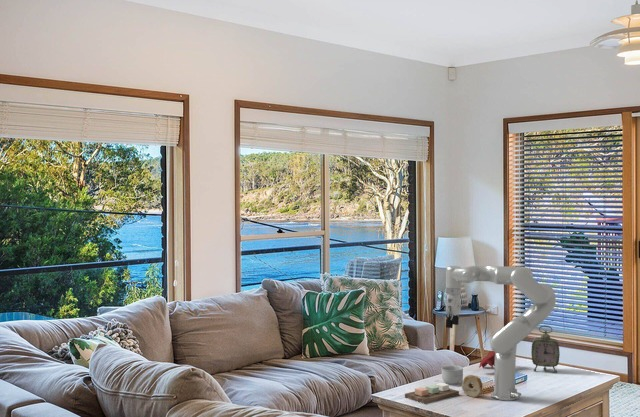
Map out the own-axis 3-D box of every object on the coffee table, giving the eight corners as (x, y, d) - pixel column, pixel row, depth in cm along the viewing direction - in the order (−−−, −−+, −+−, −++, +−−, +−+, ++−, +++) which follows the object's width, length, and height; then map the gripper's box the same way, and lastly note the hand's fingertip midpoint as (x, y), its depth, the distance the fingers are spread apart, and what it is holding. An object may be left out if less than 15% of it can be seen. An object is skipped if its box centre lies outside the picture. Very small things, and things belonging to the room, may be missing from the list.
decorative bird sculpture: (475, 381, 375) (491, 364, 368) (464, 367, 380) (480, 350, 373) (504, 372, 394) (520, 356, 387) (494, 359, 399) (510, 343, 392)
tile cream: (448, 389, 335) (448, 384, 335) (442, 391, 332) (442, 386, 332) (442, 387, 338) (442, 382, 338) (435, 389, 336) (435, 384, 335)
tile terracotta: (428, 394, 326) (428, 389, 326) (421, 396, 324) (421, 390, 324) (421, 392, 330) (421, 387, 330) (414, 394, 327) (414, 388, 327)
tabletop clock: (531, 371, 379) (531, 326, 379) (531, 368, 388) (531, 323, 387) (559, 374, 375) (560, 327, 374) (558, 370, 384) (559, 324, 383)
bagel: (484, 397, 329) (484, 376, 329) (479, 399, 327) (479, 377, 327) (465, 393, 337) (465, 372, 337) (461, 394, 334) (461, 373, 334)
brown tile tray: (458, 394, 333) (458, 391, 333) (423, 403, 319) (423, 399, 319) (440, 389, 343) (440, 385, 343) (404, 397, 328) (404, 393, 328)
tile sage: (438, 392, 330) (438, 387, 330) (432, 393, 328) (432, 388, 328) (431, 390, 334) (432, 384, 334) (425, 391, 331) (425, 386, 331)
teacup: (456, 387, 347) (457, 371, 347) (437, 383, 354) (437, 367, 354) (469, 381, 358) (469, 365, 358) (449, 378, 365) (450, 362, 365)
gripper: (455, 294, 332) (454, 330, 333) (465, 290, 348) (464, 324, 348) (440, 292, 336) (439, 328, 336) (451, 288, 351) (450, 322, 352)
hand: (452, 326), depth 342 cm, fingers open, 9 cm apart
